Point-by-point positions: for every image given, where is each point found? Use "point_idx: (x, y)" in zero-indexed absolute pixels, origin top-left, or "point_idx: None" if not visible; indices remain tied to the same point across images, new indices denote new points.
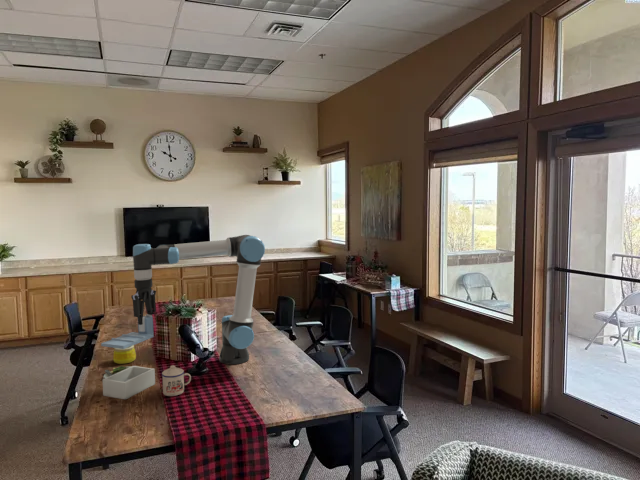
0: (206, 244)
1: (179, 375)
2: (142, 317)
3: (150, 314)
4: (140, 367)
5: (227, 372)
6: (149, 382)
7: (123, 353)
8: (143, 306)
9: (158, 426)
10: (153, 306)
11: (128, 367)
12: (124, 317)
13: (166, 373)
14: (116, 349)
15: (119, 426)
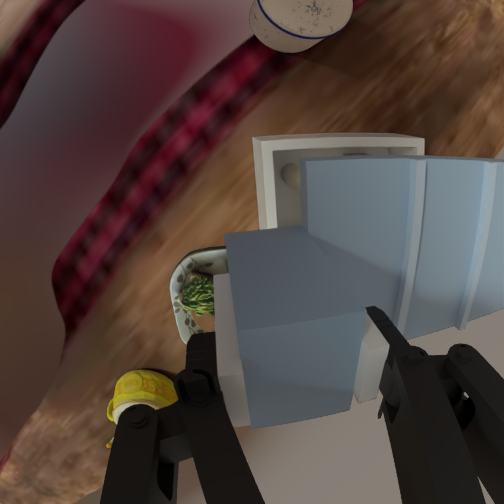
0: None
1: None
2: (386, 355)
3: (221, 392)
4: (274, 214)
5: (48, 3)
6: (287, 135)
7: (163, 400)
8: (443, 473)
9: None
10: (151, 483)
11: (188, 337)
12: (29, 499)
13: (346, 1)
14: None
15: (486, 46)
